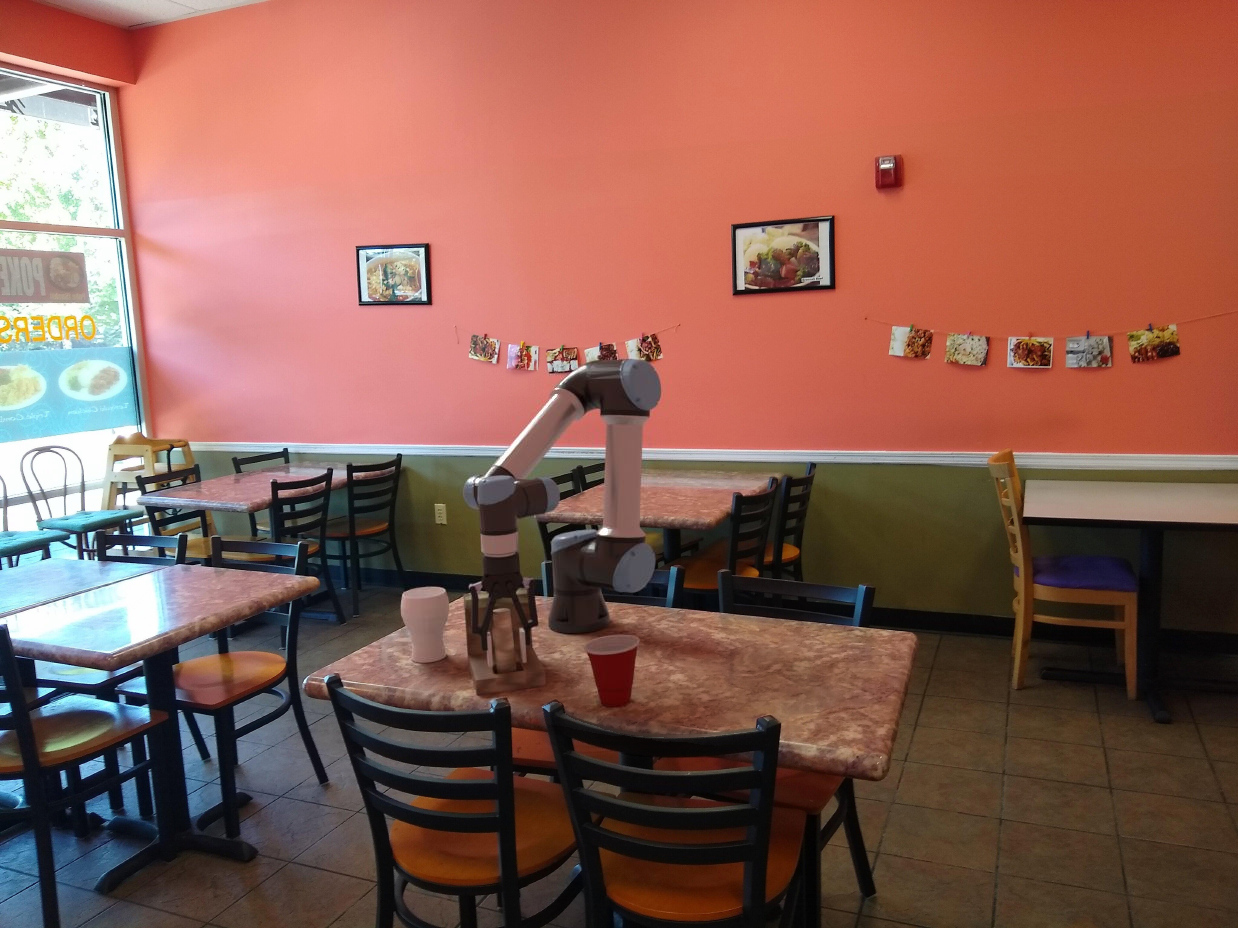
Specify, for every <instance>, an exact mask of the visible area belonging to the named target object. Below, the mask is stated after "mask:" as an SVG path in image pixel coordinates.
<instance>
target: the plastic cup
mask: <svg viewBox="0 0 1238 928" xmlns="http://www.w3.org/2000/svg"><path fill="white" fill-rule="evenodd" d="M639 644H640V638H639V637H637V636H636V635H632V634H612V635H611V634H610V635H605V636H600V637H597V638H594V639H591V640H589V641H587V642H585V643H584V645H583V646H582V648H583V650H584V651H585V652H586V653H587V656H588V659H589V660H588V661H589V662H590V666H591V671H592V673H593V678H594V683H595V686H596V689H597V694H598V699H599V701H600V703H601V705H603V706H605V707H609V708H619V707H620V708H621V707H623V706H627V705H629V704H630V703H631V698H632V691H633V690H632V689H633V685H634V678H635V667H636V658H637V652H638V646H639Z"/></svg>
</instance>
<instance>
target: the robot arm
mask: <svg viewBox="0 0 1238 928" xmlns="http://www.w3.org/2000/svg"><path fill="white" fill-rule="evenodd" d="M661 396H662V383H661V379H660V377H659V374H658V372H657V370H655V367H654V366H653V365H652V364H651V363H650V362H648V361H647V360H643V359H637V358H636V359H635V358H623V359H622V358H621V359H605V360H604V359H603V360H602V359H595V360H591V361H589V362H585V363H583V364H581V365H579V366H578V367H577V368H575V369H574V370H572V371H571V372H570V373H568V374H567V375H565V377H563V379H562V380H560V381H559V382H558V383H557V385H555V386H554V387H553V389H552V390H551V391H550V393H549V396H548V397H549V398H548V399H549V400H548V401H547V402H546V403H545V404H544V405H543V407H542V408H541V409H540V410H539V411H538V412H537V413H536V415H534V417H533V418H532V420H530V422H529V423H528V424H527V425H526V426H525V427H524V429H522V431H521V432H520V433H519V434H518V435H517V437H516V438H515V439H514V440H513V441H512V442H511V443H510V444H509V446H508V447H507V448H506V449H505V450H504V452H502V454H501V455H500V456H499V457H498V458H497V459H496V461H495V462H494V463H493V464H492V465H491V466H490V468H489V469H488V470H487V471H486V472H485V473H484V474H478V475H473V476H470V477H469V478H468V479H467V480H466V481H465V483H464V485H463V489H462V495H463V499H464V501H465V504H466V505H468V507H470V508H471V509H474V510H478V519H479V529H480V548H481V550H480V551H481V553H482V556H481V562H482V563H481V565H482V566H481V567H482V577H481V579H480V581H478V582H476V583H469V584H468V590H469V594H470V593H471V630H472V633H473V634H479V635H480V636H481V647H482V650H483V651H485V650H487V659H488V665H489V667H493V660H492V644H491V635H490V632H488V628H489V625H490V621H491V617H492V613H493V609H494V606H495V603H496V600H497V599H501V598H511V599H512V601H513V604H514V606H515V608H516V611H517V613H518V616H519V618H520V621H521V623H522V625H523V628H519V633H520V650H521V660H522V662H523V663H526V662H527V661H526V645H530V643H531V641H530V630H531V628H532V629H533V628H535V627H536V628H537V627H538V626H539V618H538V611H537V610H538V609H537V600H536V595H535V589H536V583H537V581H536V580H535V577H532V576H530V577H529V578H528V577H523V575H522V573H521V565H520V563H521V562H520V553H518V551H519V550H520V549H519V548H520V544H519V532H518V530H519V529H518V528H519V527H518V520H522V519H526V518H531V517H534V516H540V515H545V514H546V513H550V512H552V511H554V510H556V509H557V507H558V506H559V504H560V502H561V501H560V500H561V497H560V496H561V495H560V493H561V492H560V489H559V486H558V485H557V483H556V482H555V481H554V480H553V479H552V478H550V477H535V478H533V479H527V477H528V476H529V475H530V474H531V472H532V471H534V469H535V468H536V467H537V465H538V464H539V463H540V462H541V461H542V460H543V459H544V457H545V456H546V455H547V453H548V452H549V451H550V450H551V449H552V447H553V446H554V445H555V444H556V443H557V441H558V440H559V439H560V438H561V436H563V434H564V433H565V432H566V431H567V430H568V428H569V427H570V426H571V425H572V424H573V423H574V422H575V421H579V420H581V419H582V418H584V416H585V415H586V414H587V413H589V412H590V411H591V412H592V411H594V410H600V411H599V412H600V413H599V414H600V415H599V417H600V418H601V419H602V420H603V421H604V422H605V424H606V425H605V426H606V427H605V428H606V429H605V457H604V458H605V459H604V484H603V489H604V492H603V515H602V517H603V518H602V521H603V522H602V527H600V529H598V530H597V529H582V530H574V531H569V532H568V531H567V532H563V533H560V534H557V535H555V536H554V537H553V538H552V540H551V552H550V555H551V557H550V558H551V568H552V570H551V571H552V581H553V598H552V602H551V605H550V608H549V609H550V610H549V613H548V617H547V621H548V623H547V624H548V628H549V629H551V630H552V631H555V632H559V633H565V634H583V633H590V632H591V633H592V632H597V631H600V630H602V629H605V628H606V627H608V626H609V625H610V623H611V619H610V617H611V616H610V615H611V614H610V611H609V609H608V606H607V604H606V601H605V599H604V596H603V593H602V589H605V590H611V591H612V590H613V591H616V592H619V593H623V592H624V593H636V592H639V591H641V590H642V589H644V588H645V587H646V586H647V584H648V582H650V580H651V578H652V576H653V574H654V572H655V571H654V570H655V567H656V554H655V552H654V551H653V548H652V547H651V546H650V545H649V544H648V543H646V533H645V532H644V530H642V529H641V526H640V524H641V523H640V522H641V521H640V520H641V519H640V518H641V497H642V496H641V493H642V492H641V490H642V466H643V464H642V462H643V438H644V435H643V434H644V433H643V432H644V424H645V423H646V422H647V421H649V420H650V418H651V415H650V413H651V410H653V409H655V408H656V407H657V406H658V404H659V402H660V399H661ZM522 584H523V588H526V589H527V596H528V604H529V611H530V618H531V620H530V621H527V619H526V616H525V614H524V611H523V609H522V606H521V604H520V601H519V599H518V596H517V594H516V592H517V590H518V589H519V588H521V585H522ZM482 588H483V589H484V590H485V592H488V593H489V596H488V601H487V605H486V609H485V612H484V616H483V620H482V624H481V627H479V626H478V602H479V600H478V594H480V592H481V591H482Z"/></svg>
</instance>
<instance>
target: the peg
mask: <svg viewBox="0 0 1238 928" xmlns="http://www.w3.org/2000/svg"><path fill="white" fill-rule="evenodd" d="M491 621H492V631H493V640H494V649H495V658H496V668H497V674H502V673H510V672H517V670H516V661H515V651H514V641H513V632H512V622H511V613H510V609H507V608H501V609H495V610H493V613H492V617H491Z"/></svg>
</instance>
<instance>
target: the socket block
mask: <svg viewBox="0 0 1238 928" xmlns="http://www.w3.org/2000/svg"><path fill="white" fill-rule="evenodd" d="M516 594H517V596H518V599H519V601H520V604H521V606H522V609H523V611H524V614H525V616H526V619H527V621H530V620H531V618H530V611H529V604H528V596H527V589H526V588H525V587H519V589H518V590H517V592H516ZM488 596H489V593H488V592H487V591H482V592H480V594H478V600H479V602H478V626H479V627H481V624H482V620H483V616H484V612H485V609H486V605H487V601H488ZM463 605H464V607H463V609H464V622H465V635H466V638H465V639H466V651H467V666H468V669H469V672H470V677H471V680H472V683H473V686H474V687H473V688H474V690H475V694H476V695H478V696H479V695H487V694H494V693H502V692H509V691H514V690H515V691H516V690H525V689H531V688H540V687H545V686H546V687H547V681H546V680H547V679H546V669H545V668H544V666H543V665H542V662H541V660H540V659H539V657H538V655H537V653H536V651H535V649H534V648H533V647H534V646H533V631H532V630H533V628H531V630H530V641H531V643H530V645H526V661H527V662H526V663H523V662H522V660H521V650H520V633H519V628H523V625H522V623H521V621H520V618H519V616H518V613H517V611H516V608H515V606H514V604H513V601H512V599H511V598H501V599H497V600H496V603H495V606H494V609H493V610H495V609H501V608H507V609H510V613H511V622H512V632H513V641H514V651H515V661H516V670H517V672H510V673H502V674H497V668H496V658H495V649H494V640H493V631H492V621H490V625H489V628H488V632H490V635H491V644H492V660H493V667H489V665H488V659H487V650H485V651H483V650H482V647H481V636H480V635H479V634H473V633H472V630H471V593H470V592H469V593H463Z"/></svg>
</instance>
